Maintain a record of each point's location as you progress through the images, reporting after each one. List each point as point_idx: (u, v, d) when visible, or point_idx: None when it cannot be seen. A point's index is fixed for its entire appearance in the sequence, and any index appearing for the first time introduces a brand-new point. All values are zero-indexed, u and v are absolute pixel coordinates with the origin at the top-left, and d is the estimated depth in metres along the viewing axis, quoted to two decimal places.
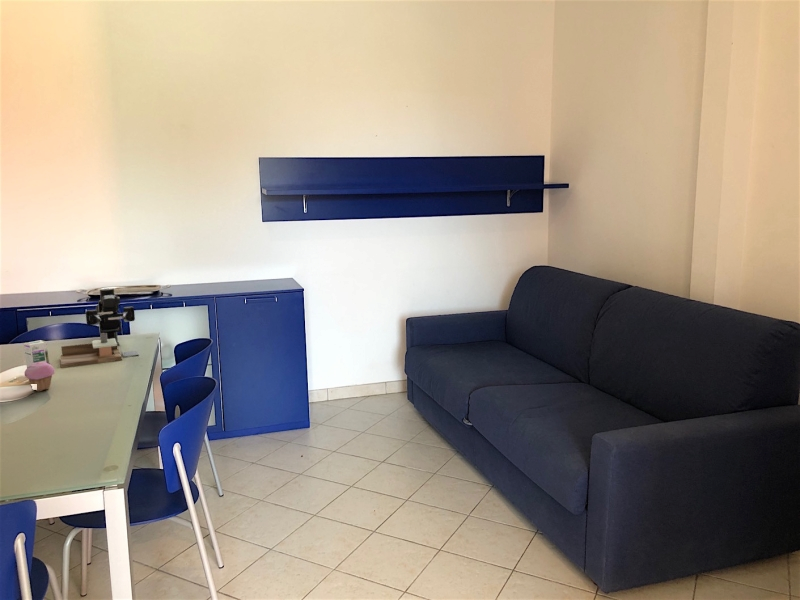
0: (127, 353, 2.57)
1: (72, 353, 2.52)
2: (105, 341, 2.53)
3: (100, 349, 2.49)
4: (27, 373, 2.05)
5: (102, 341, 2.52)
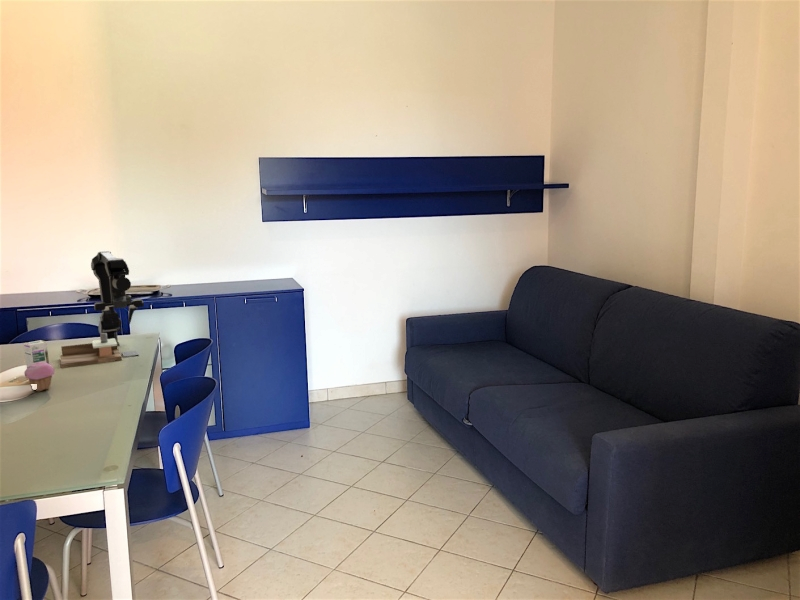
0: (127, 353, 2.57)
1: (72, 353, 2.52)
2: (105, 341, 2.53)
3: (100, 349, 2.49)
4: (27, 373, 2.05)
5: (102, 341, 2.52)
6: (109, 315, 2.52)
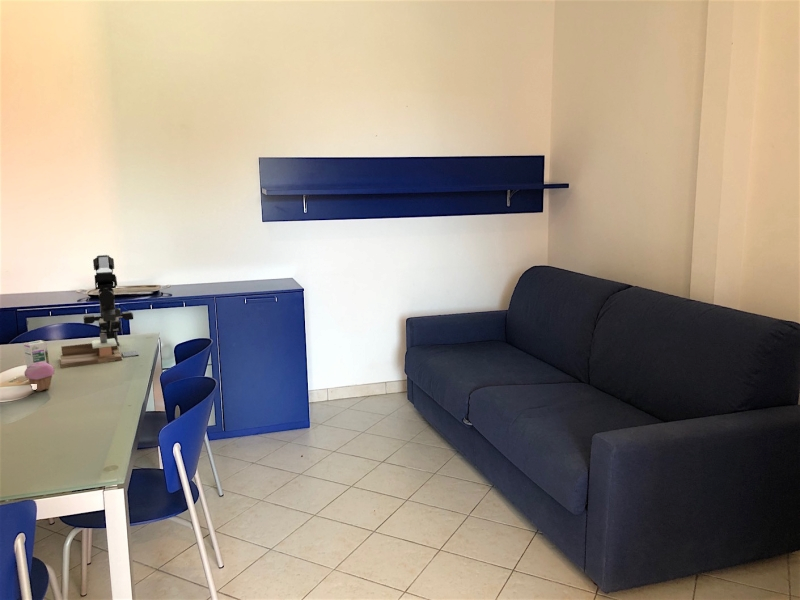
0: (127, 353, 2.57)
1: (72, 353, 2.52)
2: (105, 341, 2.53)
3: (100, 349, 2.49)
4: (27, 373, 2.05)
5: (102, 341, 2.52)
6: (107, 327, 2.52)
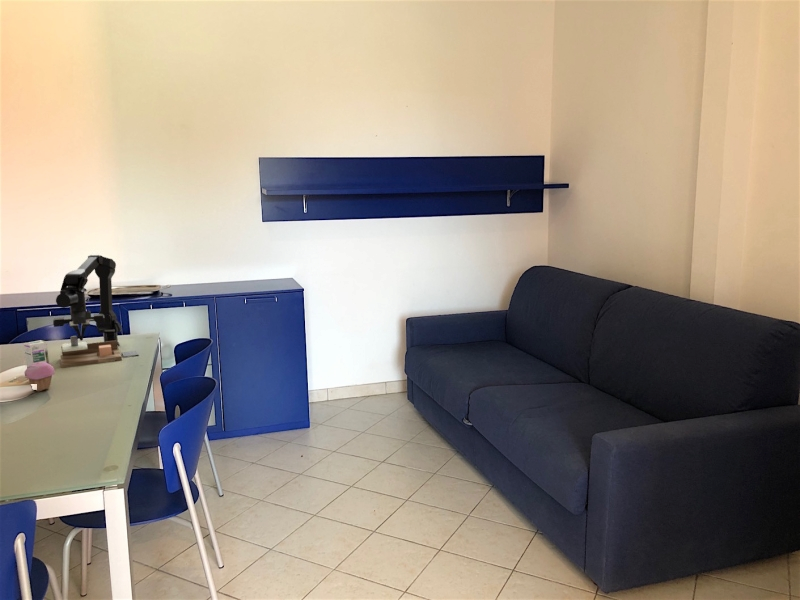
0: (127, 353, 2.57)
1: (72, 353, 2.52)
2: (75, 344, 2.47)
3: (100, 349, 2.49)
4: (27, 373, 2.05)
5: (72, 344, 2.47)
6: (77, 330, 2.47)
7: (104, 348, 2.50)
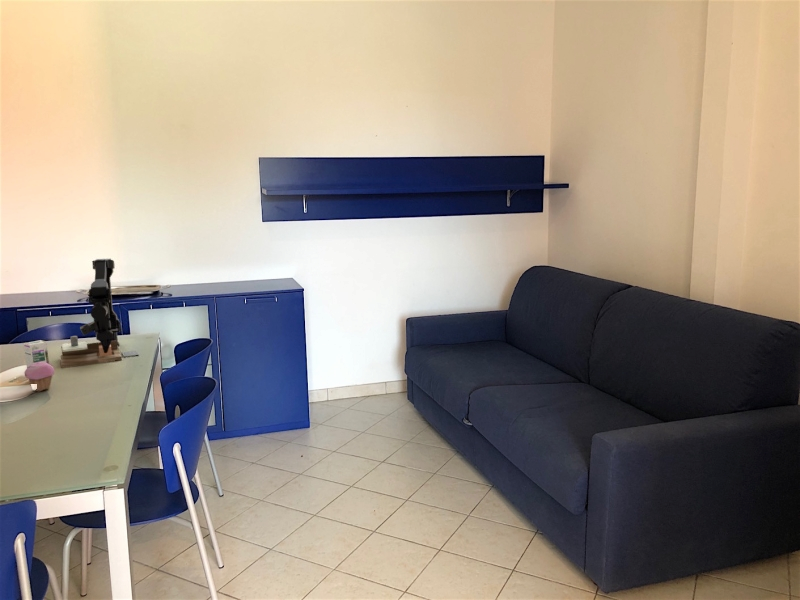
0: (127, 353, 2.57)
1: (72, 353, 2.52)
2: (75, 344, 2.47)
3: (100, 349, 2.49)
4: (27, 373, 2.05)
5: (72, 344, 2.47)
6: None
7: None
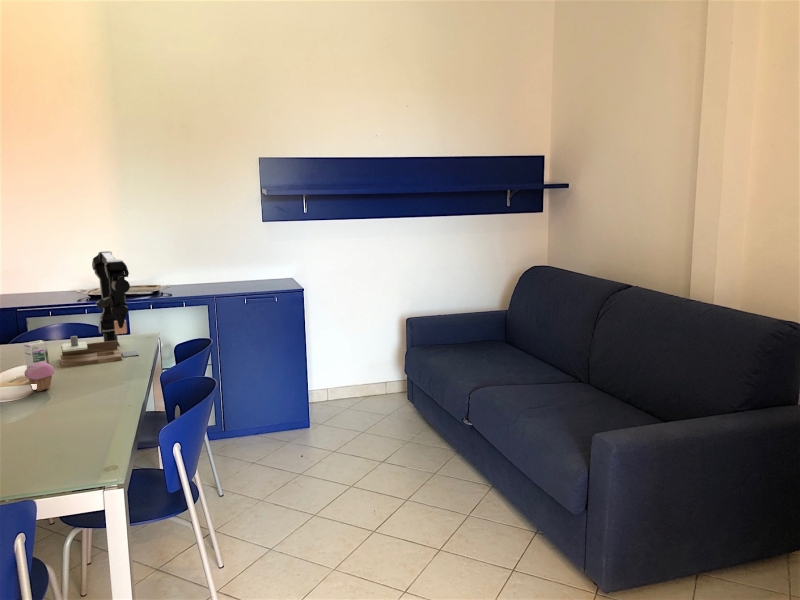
0: (127, 353, 2.57)
1: (72, 353, 2.52)
2: (75, 344, 2.47)
3: (115, 324, 2.51)
4: (27, 373, 2.05)
5: (72, 344, 2.47)
6: None
7: None
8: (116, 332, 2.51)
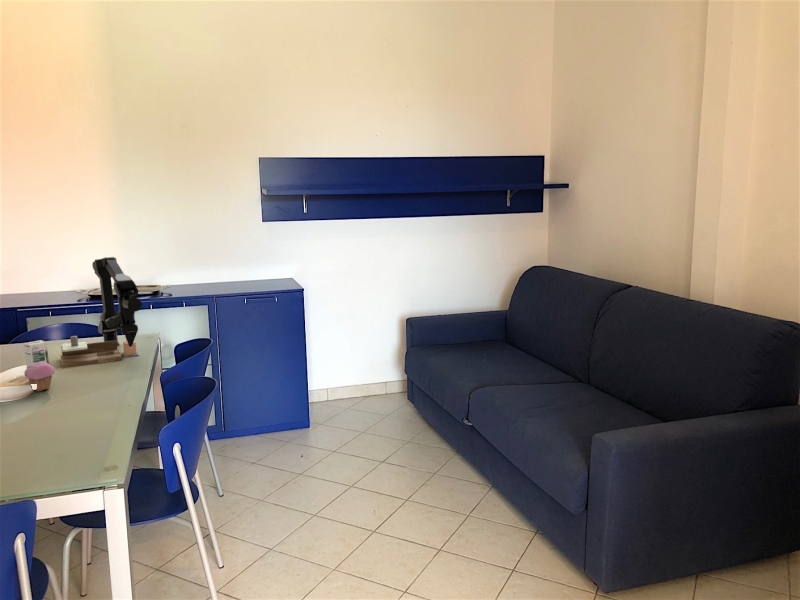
0: None
1: (72, 353, 2.52)
2: (75, 344, 2.47)
3: (125, 345, 2.54)
4: (27, 373, 2.05)
5: (72, 344, 2.47)
6: None
7: None
8: (126, 353, 2.54)
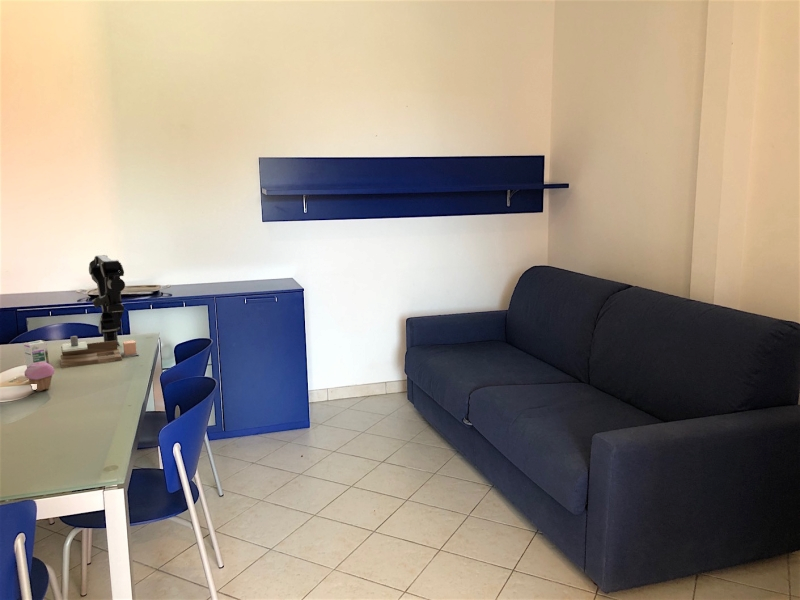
0: None
1: (72, 353, 2.52)
2: (75, 344, 2.47)
3: (125, 345, 2.54)
4: (27, 373, 2.05)
5: (72, 344, 2.47)
6: None
7: (129, 344, 2.55)
8: (126, 353, 2.54)
